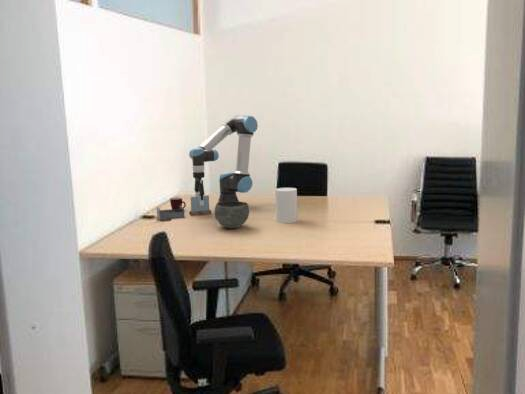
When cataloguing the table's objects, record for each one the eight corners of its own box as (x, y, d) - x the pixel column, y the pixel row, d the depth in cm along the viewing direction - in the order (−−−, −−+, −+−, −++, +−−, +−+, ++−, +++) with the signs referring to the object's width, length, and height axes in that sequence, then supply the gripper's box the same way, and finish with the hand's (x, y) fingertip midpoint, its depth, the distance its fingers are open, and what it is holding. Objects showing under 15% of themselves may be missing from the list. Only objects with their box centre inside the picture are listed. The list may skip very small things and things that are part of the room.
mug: (183, 210, 406) (182, 196, 404) (187, 212, 399) (187, 198, 398) (169, 212, 401) (168, 198, 399) (173, 214, 394) (173, 199, 392)
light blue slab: (208, 212, 391) (208, 195, 389) (209, 213, 390) (208, 195, 388) (191, 214, 388) (190, 196, 386) (191, 214, 386) (191, 197, 384)
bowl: (242, 232, 339) (241, 207, 336) (209, 230, 346) (208, 205, 344) (254, 224, 358) (254, 200, 356) (223, 222, 366) (222, 199, 363)
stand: (209, 213, 394) (209, 209, 394) (211, 215, 388) (211, 211, 387) (189, 215, 390) (188, 210, 390) (191, 217, 384) (191, 212, 383)
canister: (283, 217, 376) (282, 187, 373) (301, 219, 369) (300, 188, 365) (271, 221, 366) (270, 190, 362) (289, 223, 358) (289, 191, 354)
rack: (180, 215, 391) (180, 204, 390) (184, 218, 379) (184, 208, 378) (157, 217, 387) (156, 206, 385) (159, 221, 374) (159, 210, 373)
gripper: (189, 169, 394) (190, 200, 398) (196, 174, 371) (198, 206, 374) (200, 169, 397) (201, 199, 400) (208, 173, 373) (209, 206, 377)
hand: (199, 203), depth 387 cm, fingers open, 13 cm apart
